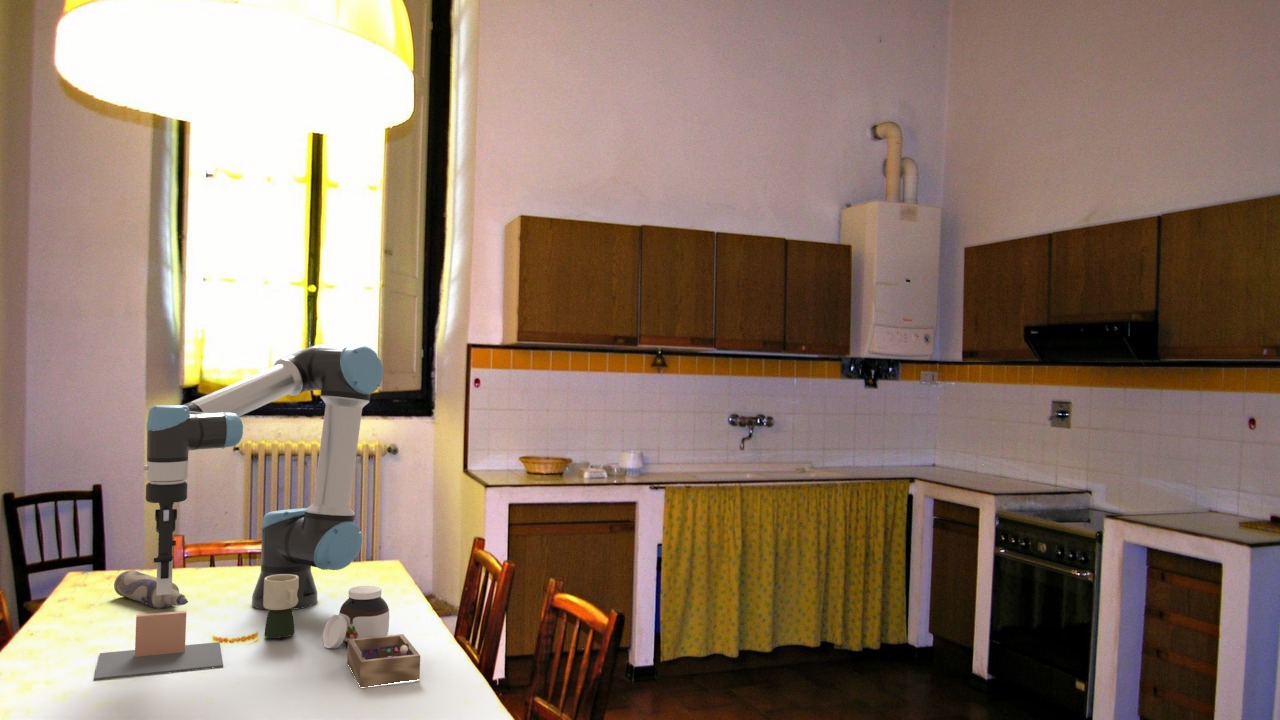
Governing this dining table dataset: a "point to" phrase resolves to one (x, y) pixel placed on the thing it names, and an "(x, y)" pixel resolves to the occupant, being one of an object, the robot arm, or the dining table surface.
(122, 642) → the dining table surface
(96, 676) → the rubber mat
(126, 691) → the dining table surface
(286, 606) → the character mug
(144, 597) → the decorative bottle
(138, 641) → the terracotta tile
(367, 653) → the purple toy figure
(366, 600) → the spread jar
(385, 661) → the open wooden trinket box
